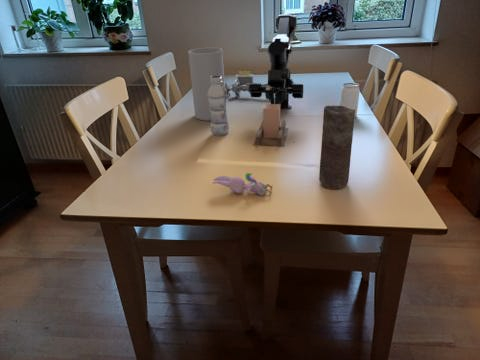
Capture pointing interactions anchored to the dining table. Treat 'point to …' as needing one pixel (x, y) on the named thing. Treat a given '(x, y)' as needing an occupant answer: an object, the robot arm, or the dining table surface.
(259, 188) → the purple toy figure
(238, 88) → the spaceship
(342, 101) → the can
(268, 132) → the block
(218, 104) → the plastic bottle
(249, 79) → the platform
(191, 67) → the cylinder vase
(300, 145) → the dining table surface
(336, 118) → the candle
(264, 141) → the chute
